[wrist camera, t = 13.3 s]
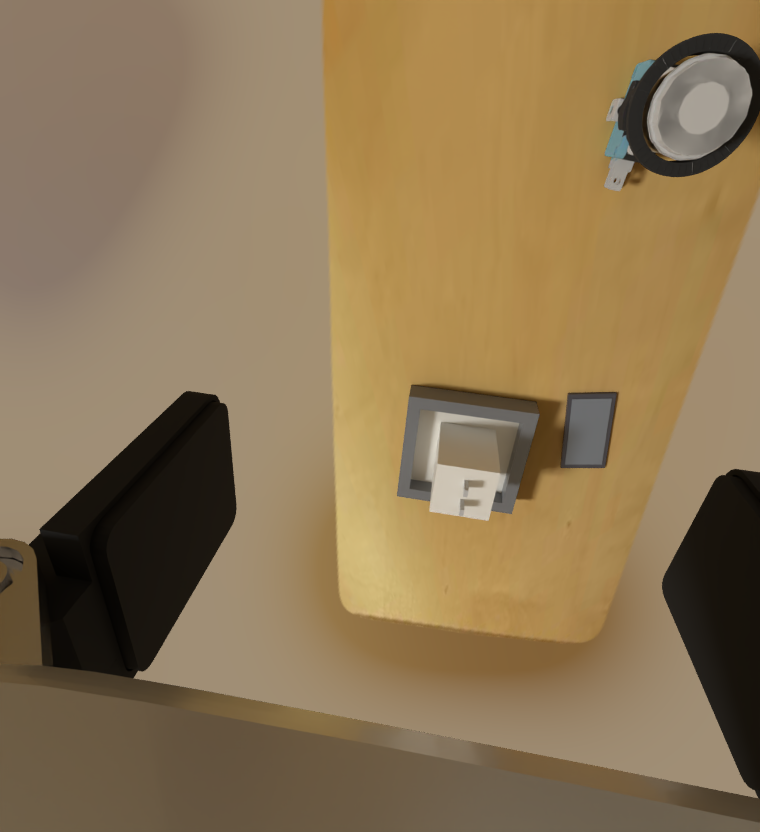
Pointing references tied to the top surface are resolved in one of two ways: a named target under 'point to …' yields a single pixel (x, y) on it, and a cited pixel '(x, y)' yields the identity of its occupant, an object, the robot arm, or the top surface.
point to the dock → (468, 409)
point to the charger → (465, 471)
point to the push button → (685, 108)
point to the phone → (587, 429)
